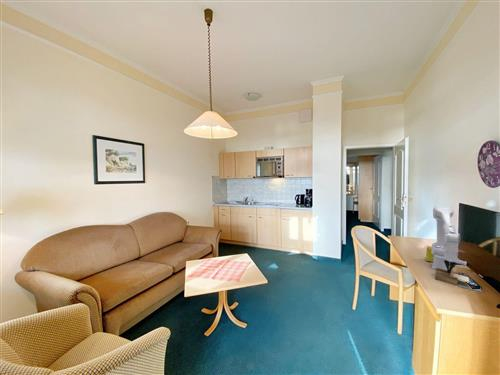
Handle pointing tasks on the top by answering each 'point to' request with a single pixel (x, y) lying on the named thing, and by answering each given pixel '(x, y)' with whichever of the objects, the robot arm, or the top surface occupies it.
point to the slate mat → (467, 286)
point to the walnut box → (445, 276)
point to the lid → (459, 277)
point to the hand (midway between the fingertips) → (448, 272)
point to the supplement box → (429, 255)
